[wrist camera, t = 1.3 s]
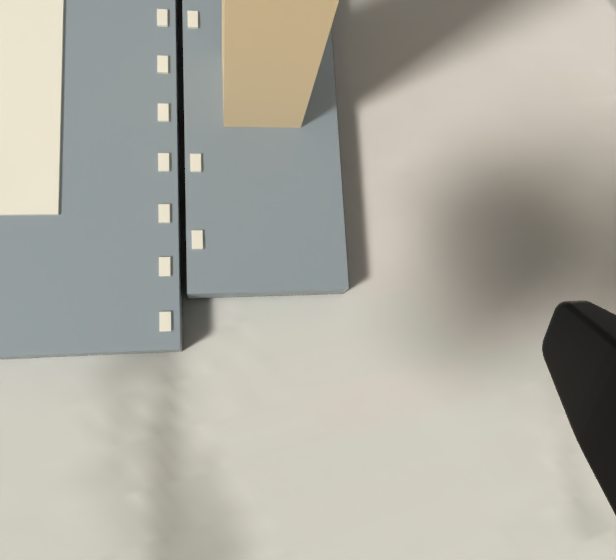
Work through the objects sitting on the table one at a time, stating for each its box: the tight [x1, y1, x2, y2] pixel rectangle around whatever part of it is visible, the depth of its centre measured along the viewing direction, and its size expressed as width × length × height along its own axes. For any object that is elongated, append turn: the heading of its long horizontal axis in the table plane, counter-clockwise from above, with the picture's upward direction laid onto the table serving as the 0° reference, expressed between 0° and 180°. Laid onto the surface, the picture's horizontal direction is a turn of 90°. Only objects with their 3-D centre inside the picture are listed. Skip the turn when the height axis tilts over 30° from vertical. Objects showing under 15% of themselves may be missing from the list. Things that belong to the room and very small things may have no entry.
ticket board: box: [0, 0, 182, 359], centre depth 22 cm, size 20×10×1 cm, turn 3°
